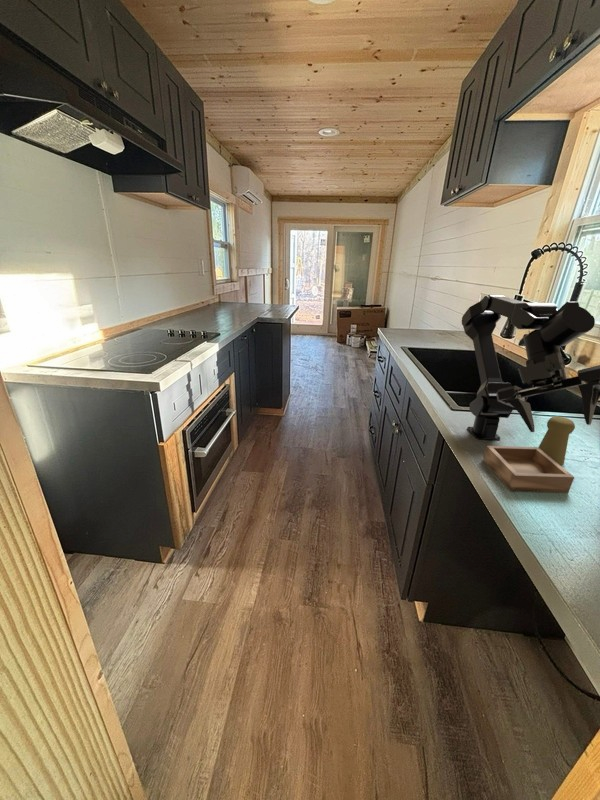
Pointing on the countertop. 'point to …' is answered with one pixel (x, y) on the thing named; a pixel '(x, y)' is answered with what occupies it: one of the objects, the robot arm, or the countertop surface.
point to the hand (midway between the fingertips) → (559, 428)
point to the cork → (557, 438)
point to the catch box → (527, 469)
